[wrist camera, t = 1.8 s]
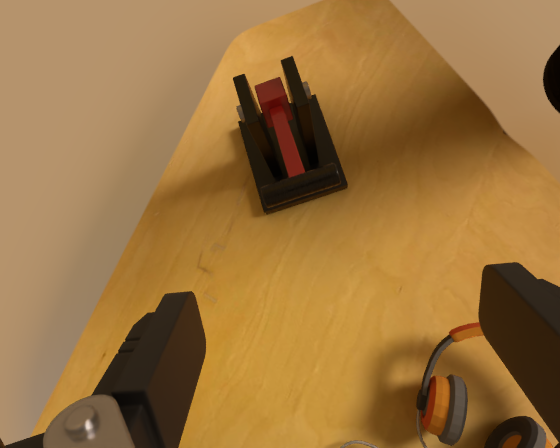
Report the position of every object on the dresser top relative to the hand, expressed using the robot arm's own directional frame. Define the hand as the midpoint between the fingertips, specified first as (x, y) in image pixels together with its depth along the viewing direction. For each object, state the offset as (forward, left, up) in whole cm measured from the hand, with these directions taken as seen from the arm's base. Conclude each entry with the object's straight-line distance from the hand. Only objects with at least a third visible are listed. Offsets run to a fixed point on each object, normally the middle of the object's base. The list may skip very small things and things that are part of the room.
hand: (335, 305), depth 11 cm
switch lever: (-10, -8, -16) cm, 20 cm away
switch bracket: (-13, -11, -27) cm, 32 cm away
